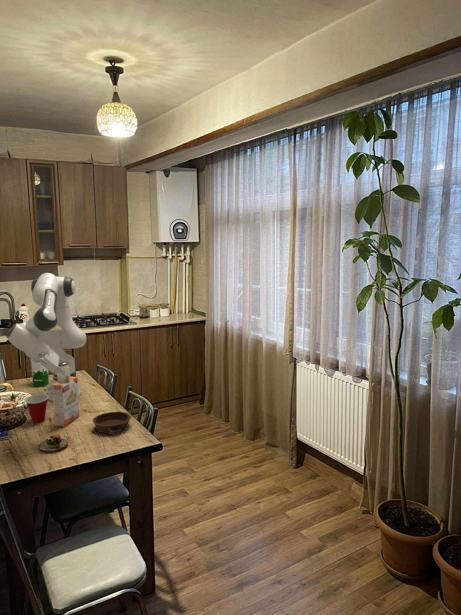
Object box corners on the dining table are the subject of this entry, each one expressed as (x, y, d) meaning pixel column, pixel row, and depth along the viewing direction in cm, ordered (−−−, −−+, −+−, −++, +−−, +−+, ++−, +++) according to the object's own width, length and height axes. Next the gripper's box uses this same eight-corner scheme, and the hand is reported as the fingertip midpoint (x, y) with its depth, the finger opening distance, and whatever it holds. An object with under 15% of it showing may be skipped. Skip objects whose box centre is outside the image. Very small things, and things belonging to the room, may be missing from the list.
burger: (34, 448, 197) (33, 431, 196) (60, 439, 206) (59, 423, 205) (45, 457, 189) (44, 439, 188) (73, 447, 197) (72, 431, 196)
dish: (125, 416, 231) (125, 407, 230) (136, 433, 211) (136, 422, 211) (89, 423, 224) (89, 413, 223) (97, 440, 204) (97, 429, 203)
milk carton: (31, 387, 280) (28, 355, 277) (36, 383, 289) (34, 352, 286) (46, 387, 280) (43, 355, 277) (50, 382, 289) (48, 351, 286)
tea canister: (55, 382, 209) (53, 363, 208) (66, 379, 213) (65, 360, 212) (61, 384, 205) (60, 365, 204) (72, 381, 210) (71, 362, 208)
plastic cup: (22, 425, 222) (20, 401, 220) (32, 416, 232) (30, 394, 231) (44, 425, 221) (42, 401, 220) (53, 416, 232) (52, 394, 230)
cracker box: (65, 427, 218) (62, 385, 215) (54, 426, 220) (51, 384, 217) (80, 416, 232) (78, 376, 229) (69, 415, 233) (67, 376, 230)
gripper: (43, 352, 195) (69, 372, 199) (46, 342, 214) (69, 360, 219) (33, 363, 194) (59, 383, 199) (36, 352, 213) (60, 370, 218)
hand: (64, 371), depth 209 cm, fingers closed on tea canister, 5 cm apart
